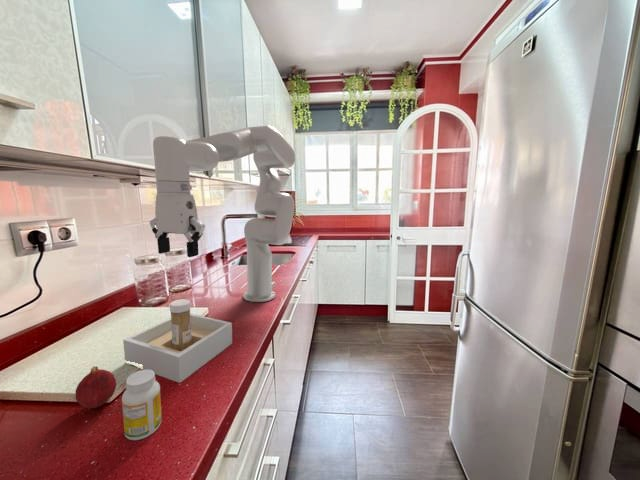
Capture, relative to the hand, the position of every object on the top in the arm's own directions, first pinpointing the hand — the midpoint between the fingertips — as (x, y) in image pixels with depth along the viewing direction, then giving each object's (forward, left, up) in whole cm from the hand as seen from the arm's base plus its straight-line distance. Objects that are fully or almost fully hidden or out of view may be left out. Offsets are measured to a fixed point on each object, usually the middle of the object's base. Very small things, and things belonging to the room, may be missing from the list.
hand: (178, 254), depth 70 cm
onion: (+24, +6, -24) cm, 35 cm away
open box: (+5, +6, -24) cm, 25 cm away
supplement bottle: (+24, +18, -24) cm, 39 cm away
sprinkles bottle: (+5, +6, -24) cm, 25 cm away
